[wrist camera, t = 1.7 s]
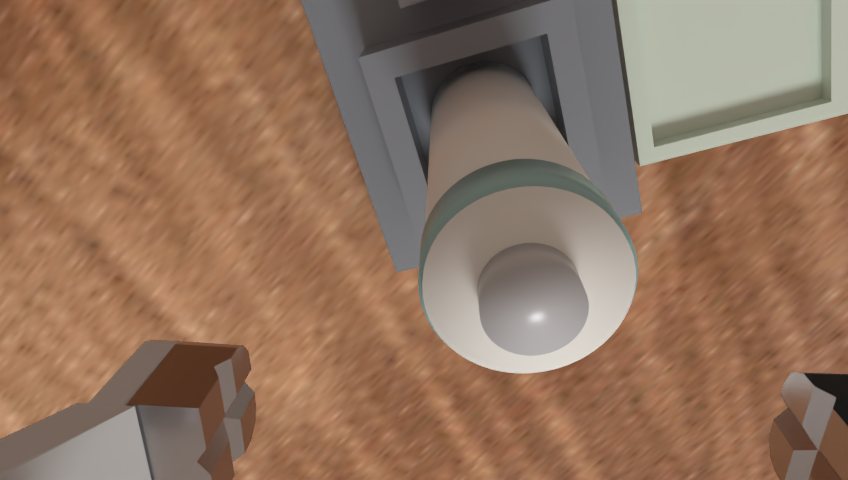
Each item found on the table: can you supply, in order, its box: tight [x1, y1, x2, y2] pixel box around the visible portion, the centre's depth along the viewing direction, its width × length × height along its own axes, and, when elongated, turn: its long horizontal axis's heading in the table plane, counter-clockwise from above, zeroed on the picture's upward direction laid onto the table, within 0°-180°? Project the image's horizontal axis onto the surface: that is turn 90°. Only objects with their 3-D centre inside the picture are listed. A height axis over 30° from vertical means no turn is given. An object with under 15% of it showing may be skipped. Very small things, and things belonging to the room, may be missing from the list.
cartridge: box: [418, 61, 638, 373], centre depth 21 cm, size 5×5×17 cm
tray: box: [611, 0, 848, 166], centre depth 29 cm, size 10×10×2 cm
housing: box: [301, 0, 642, 272], centre depth 28 cm, size 13×18×6 cm
